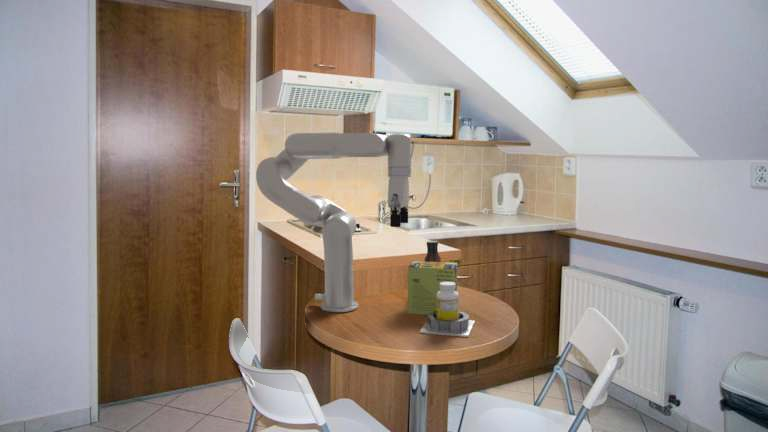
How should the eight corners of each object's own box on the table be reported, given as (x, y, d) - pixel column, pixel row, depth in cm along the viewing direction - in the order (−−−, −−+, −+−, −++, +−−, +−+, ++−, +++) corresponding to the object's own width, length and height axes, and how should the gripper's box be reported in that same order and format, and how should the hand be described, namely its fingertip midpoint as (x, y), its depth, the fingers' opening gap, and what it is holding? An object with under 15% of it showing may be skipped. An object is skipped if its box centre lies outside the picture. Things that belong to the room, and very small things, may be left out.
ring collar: (419, 332, 158) (419, 320, 158) (430, 318, 171) (430, 307, 171) (468, 337, 154) (468, 324, 153) (474, 322, 167) (475, 311, 167)
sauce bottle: (440, 292, 204) (441, 239, 201) (443, 296, 197) (444, 242, 195) (423, 292, 203) (423, 239, 201) (425, 297, 197) (425, 242, 195)
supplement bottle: (439, 321, 167) (439, 279, 165) (461, 323, 164) (461, 281, 163) (433, 327, 161) (433, 284, 159) (455, 330, 158) (456, 286, 157)
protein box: (455, 316, 173) (455, 268, 172) (407, 314, 177) (407, 267, 175) (457, 307, 184) (457, 262, 182) (412, 305, 187) (412, 260, 185)
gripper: (395, 171, 186) (395, 221, 188) (380, 173, 170) (380, 227, 172) (416, 171, 184) (416, 222, 186) (403, 173, 168) (403, 228, 170)
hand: (399, 224), depth 179 cm, fingers open, 9 cm apart
